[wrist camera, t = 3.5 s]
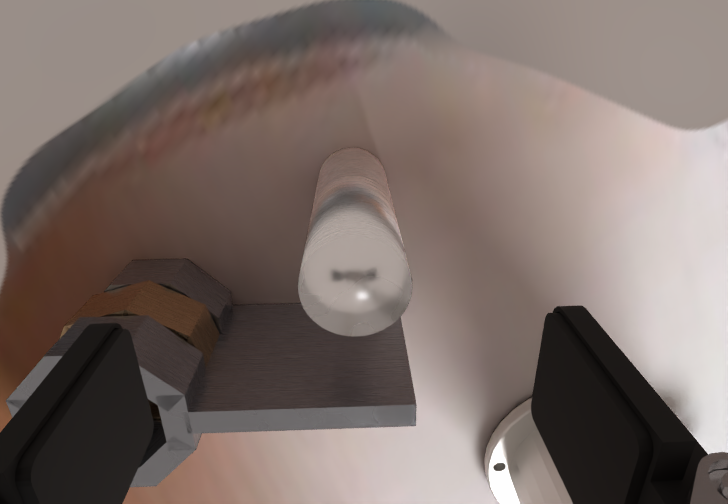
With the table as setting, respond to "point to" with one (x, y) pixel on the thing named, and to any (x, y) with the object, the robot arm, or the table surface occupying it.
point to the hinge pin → (354, 249)
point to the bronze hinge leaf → (156, 315)
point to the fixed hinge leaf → (247, 370)
